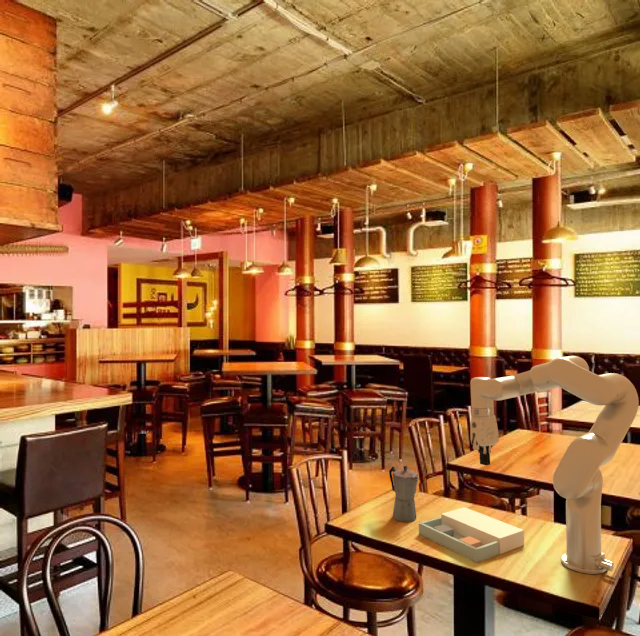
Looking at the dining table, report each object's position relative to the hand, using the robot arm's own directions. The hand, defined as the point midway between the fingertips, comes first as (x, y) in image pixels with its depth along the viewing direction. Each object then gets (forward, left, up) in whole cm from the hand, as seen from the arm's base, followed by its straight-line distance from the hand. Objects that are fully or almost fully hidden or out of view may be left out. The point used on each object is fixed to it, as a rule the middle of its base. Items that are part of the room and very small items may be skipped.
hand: (485, 464), depth 187 cm
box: (-1, +15, -24) cm, 29 cm away
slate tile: (+6, +15, -21) cm, 27 cm away
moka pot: (+27, +15, -24) cm, 39 cm away
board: (-1, +4, -24) cm, 24 cm away
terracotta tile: (-6, +15, -21) cm, 27 cm away
